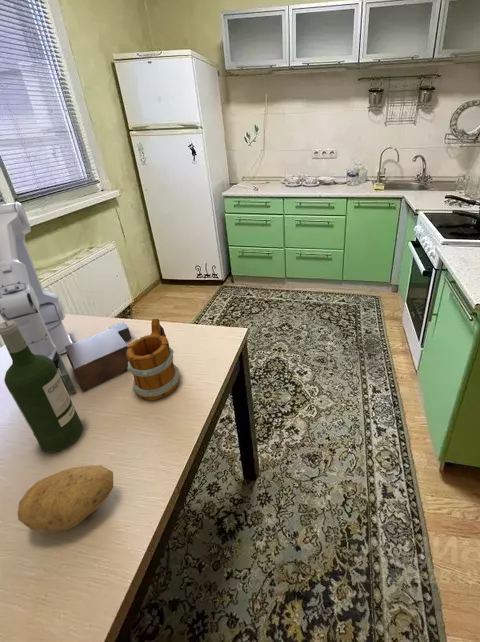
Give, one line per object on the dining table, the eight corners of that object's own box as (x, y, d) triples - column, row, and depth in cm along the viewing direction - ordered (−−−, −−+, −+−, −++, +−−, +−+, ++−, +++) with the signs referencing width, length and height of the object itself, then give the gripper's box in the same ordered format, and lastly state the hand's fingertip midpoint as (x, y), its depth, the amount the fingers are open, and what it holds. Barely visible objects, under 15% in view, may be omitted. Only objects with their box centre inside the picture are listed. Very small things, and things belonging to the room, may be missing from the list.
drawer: (47, 404, 78) (38, 386, 76) (41, 380, 85) (32, 363, 82) (118, 370, 88) (112, 353, 85) (106, 352, 95) (101, 336, 92)
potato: (117, 524, 55) (104, 497, 52) (21, 557, 52) (0, 530, 48) (124, 470, 64) (113, 444, 60) (41, 495, 60) (25, 469, 56)
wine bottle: (86, 438, 70) (34, 325, 57) (43, 460, 66) (-25, 344, 53) (80, 415, 76) (31, 307, 63) (39, 434, 72) (-22, 323, 58)
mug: (129, 404, 78) (112, 356, 72) (149, 358, 93) (136, 315, 86) (174, 400, 79) (162, 352, 72) (187, 355, 94) (177, 312, 87)
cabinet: (84, 391, 83) (74, 368, 79) (73, 368, 90) (64, 346, 87) (134, 367, 90) (127, 345, 87) (120, 347, 98) (114, 327, 94)
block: (112, 338, 102) (108, 327, 100) (127, 332, 104) (123, 321, 102) (117, 345, 99) (113, 333, 97) (131, 338, 101) (128, 327, 99)
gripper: (9, 330, 79) (31, 373, 85) (16, 360, 69) (39, 405, 75) (44, 319, 83) (62, 360, 89) (54, 345, 73) (74, 389, 79)
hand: (54, 380), depth 82 cm, fingers closed, pressing on drawer
